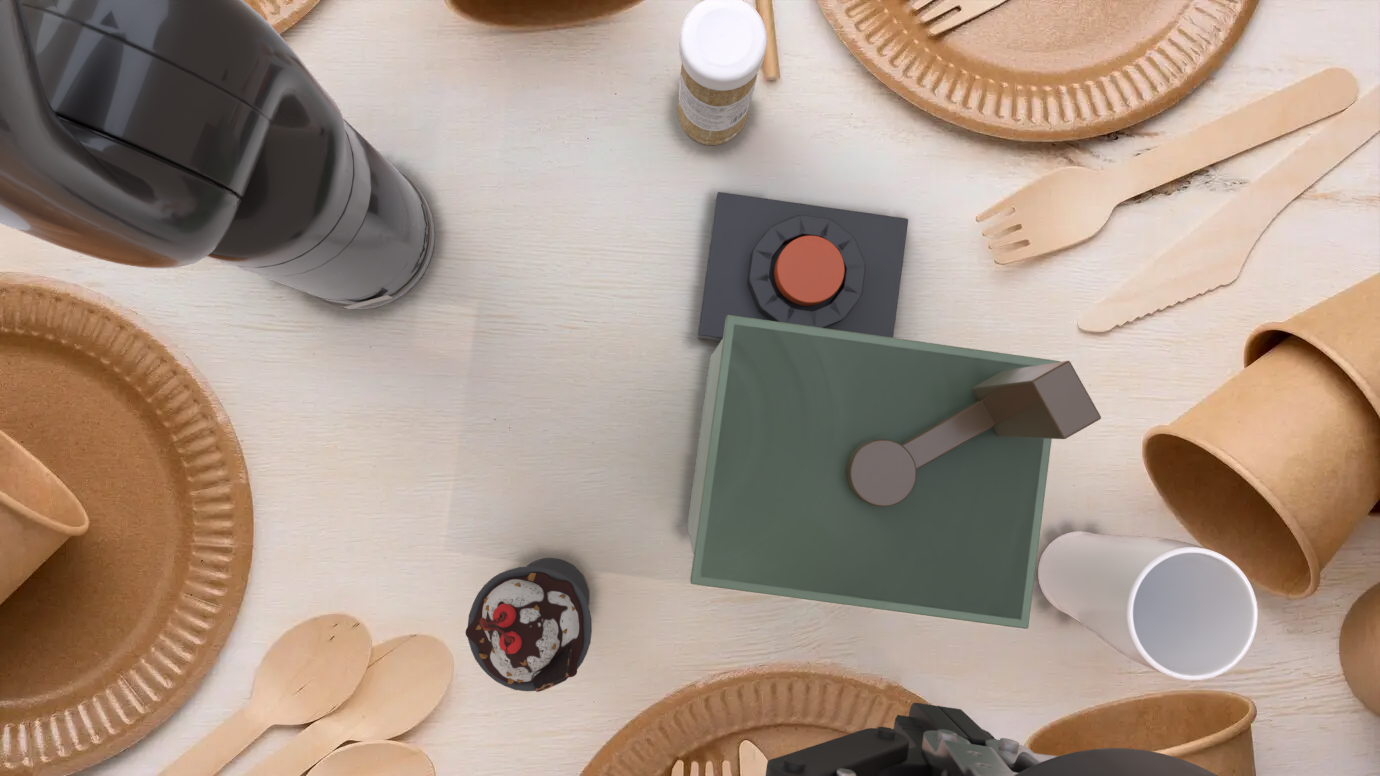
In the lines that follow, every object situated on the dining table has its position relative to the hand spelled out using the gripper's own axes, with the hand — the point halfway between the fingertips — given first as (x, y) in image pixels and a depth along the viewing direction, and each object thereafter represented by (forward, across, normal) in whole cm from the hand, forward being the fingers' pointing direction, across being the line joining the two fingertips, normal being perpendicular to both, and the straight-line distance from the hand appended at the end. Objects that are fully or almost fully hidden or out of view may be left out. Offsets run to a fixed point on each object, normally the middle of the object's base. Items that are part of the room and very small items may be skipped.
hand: (928, 737), depth 32 cm
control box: (+35, +2, -18) cm, 39 cm away
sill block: (+35, 0, -8) cm, 35 cm away
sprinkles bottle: (+35, +9, -28) cm, 46 cm away
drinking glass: (+35, -18, -3) cm, 39 cm away
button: (+31, +2, -19) cm, 36 cm away
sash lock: (+12, -2, -9) cm, 16 cm away
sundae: (+35, +14, +4) cm, 38 cm away
